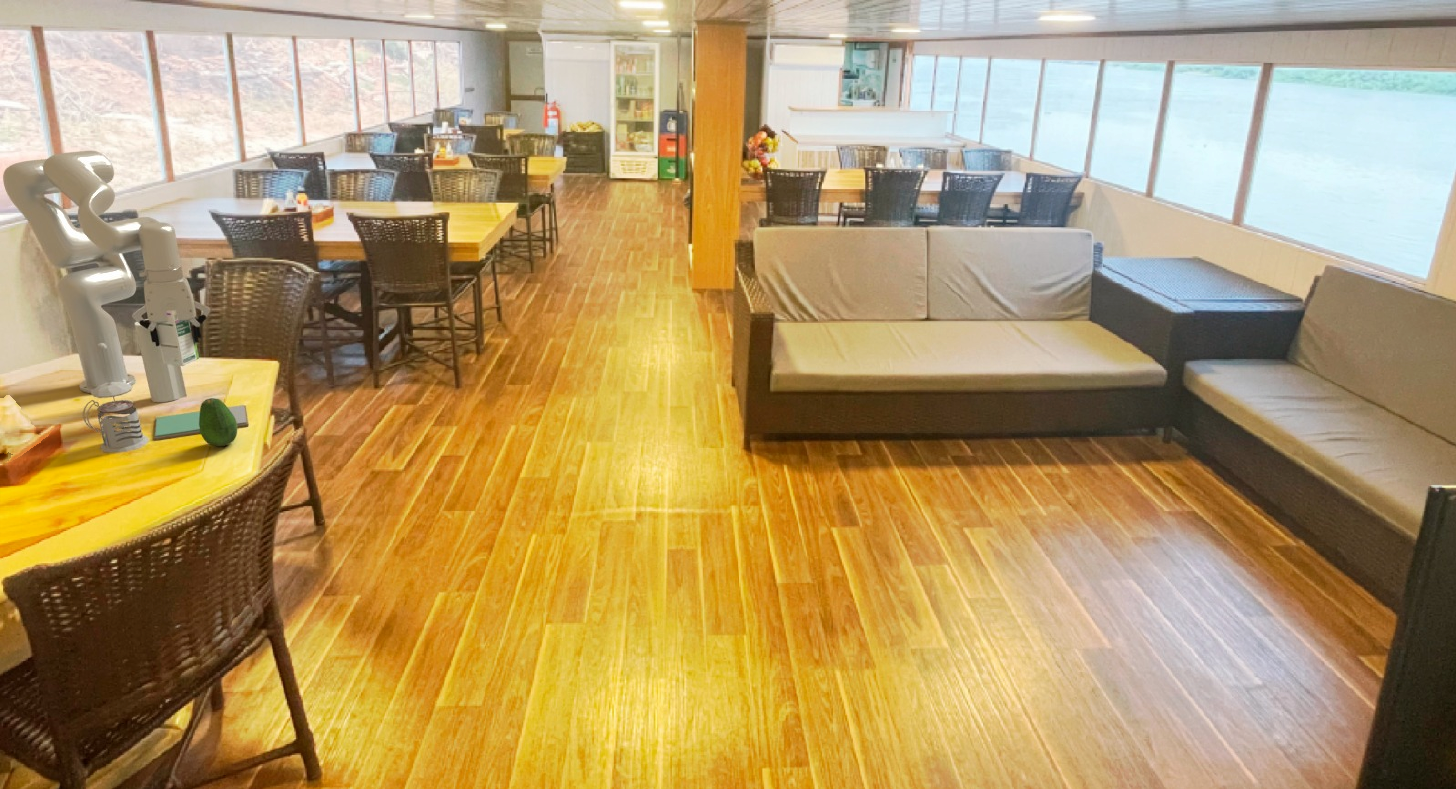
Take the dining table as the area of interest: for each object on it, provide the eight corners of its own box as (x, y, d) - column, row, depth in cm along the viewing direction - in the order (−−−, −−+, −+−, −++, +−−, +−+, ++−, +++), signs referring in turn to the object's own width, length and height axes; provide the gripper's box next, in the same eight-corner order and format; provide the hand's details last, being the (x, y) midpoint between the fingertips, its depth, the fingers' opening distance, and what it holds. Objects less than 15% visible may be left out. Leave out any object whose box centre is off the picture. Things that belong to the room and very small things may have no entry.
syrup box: (182, 366, 225) (172, 310, 220) (162, 363, 226) (151, 308, 221) (199, 359, 230) (190, 304, 225) (179, 356, 231) (169, 301, 226)
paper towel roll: (146, 401, 237) (128, 323, 229) (166, 393, 242) (149, 316, 234) (167, 405, 235) (150, 326, 226) (187, 397, 240) (171, 320, 232)
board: (156, 420, 226) (155, 416, 225) (245, 407, 235) (245, 404, 234) (154, 440, 215) (153, 436, 215) (248, 426, 224) (247, 422, 224)
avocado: (199, 443, 214) (190, 397, 210) (236, 435, 219) (227, 389, 214) (207, 455, 209) (197, 408, 204) (244, 447, 213) (236, 400, 209)
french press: (157, 441, 215) (135, 341, 205) (105, 459, 205) (79, 355, 196) (135, 431, 219) (112, 333, 210) (83, 448, 210) (56, 347, 201)
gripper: (121, 281, 213) (136, 351, 219) (206, 275, 221) (217, 343, 227) (123, 273, 219) (137, 341, 225) (205, 268, 227) (216, 334, 233)
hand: (177, 342), depth 226 cm, fingers closed on syrup box, 8 cm apart
